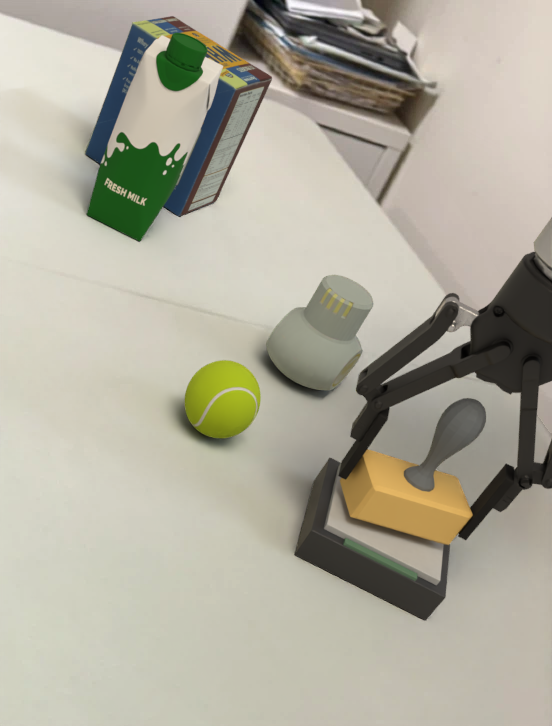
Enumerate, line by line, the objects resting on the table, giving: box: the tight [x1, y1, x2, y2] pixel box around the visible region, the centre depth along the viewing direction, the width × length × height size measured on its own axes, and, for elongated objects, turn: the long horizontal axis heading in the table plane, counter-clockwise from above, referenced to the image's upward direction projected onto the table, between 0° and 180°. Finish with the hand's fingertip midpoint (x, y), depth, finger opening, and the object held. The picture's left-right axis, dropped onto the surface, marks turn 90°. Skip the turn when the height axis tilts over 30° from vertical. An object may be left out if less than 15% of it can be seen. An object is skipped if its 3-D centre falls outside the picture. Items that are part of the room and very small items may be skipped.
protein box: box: [84, 15, 273, 217], centre depth 133 cm, size 10×15×16 cm
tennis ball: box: [183, 359, 262, 439], centre depth 102 cm, size 7×7×7 cm
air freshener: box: [265, 274, 375, 391], centre depth 115 cm, size 11×8×10 cm
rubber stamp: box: [340, 397, 487, 545], centre depth 93 cm, size 10×6×12 cm, turn 89°
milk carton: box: [86, 33, 223, 242], centre depth 121 cm, size 9×9×20 cm
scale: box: [294, 457, 451, 621], centre depth 99 cm, size 13×13×4 cm
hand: (403, 500), depth 97 cm, fingers closed on rubber stamp, 11 cm apart
